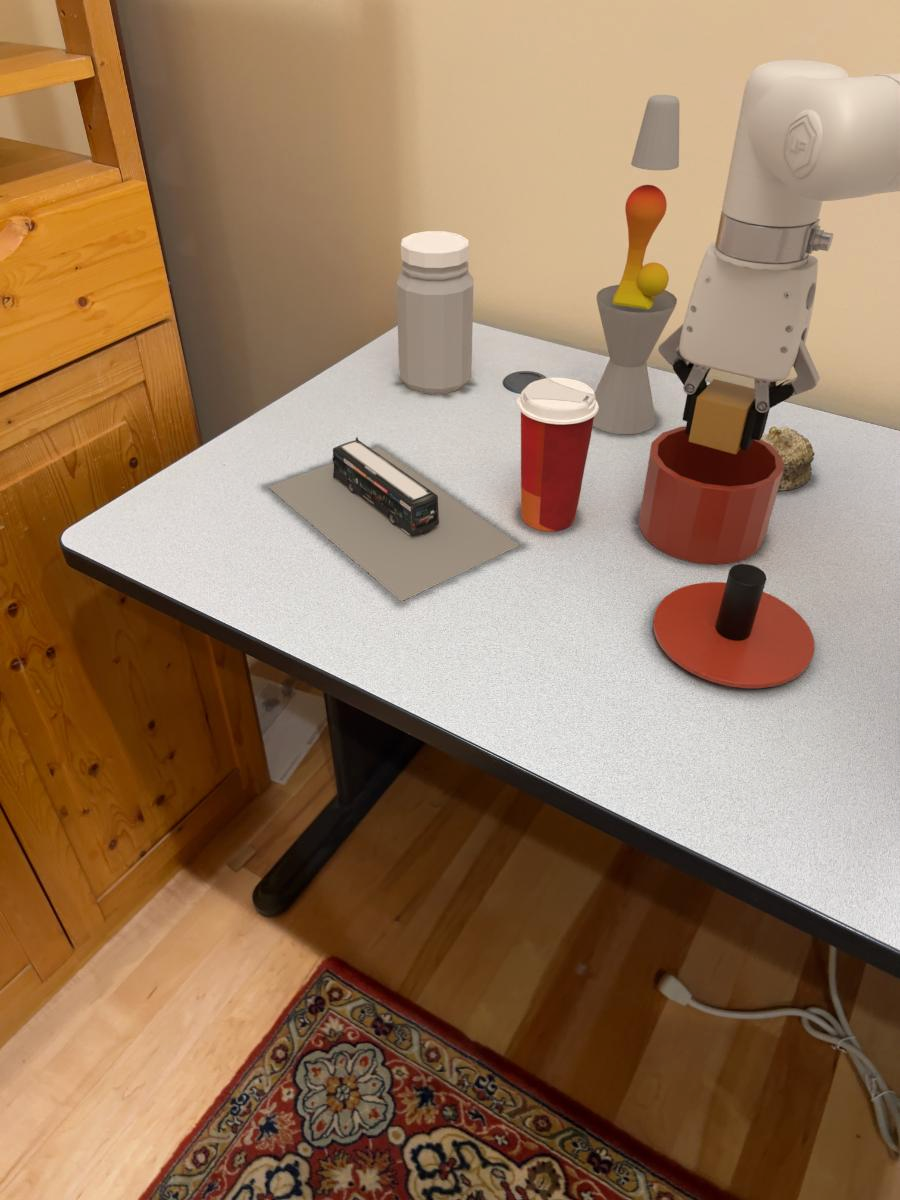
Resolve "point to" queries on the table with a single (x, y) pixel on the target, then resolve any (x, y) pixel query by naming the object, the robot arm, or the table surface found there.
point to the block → (721, 416)
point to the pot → (708, 498)
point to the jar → (435, 312)
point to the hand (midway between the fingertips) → (720, 434)
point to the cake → (791, 456)
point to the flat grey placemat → (391, 519)
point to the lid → (734, 632)
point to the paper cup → (554, 449)
